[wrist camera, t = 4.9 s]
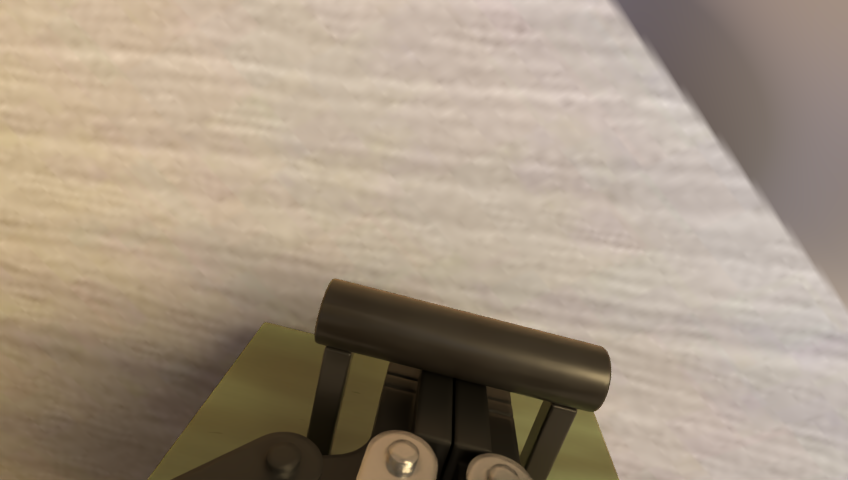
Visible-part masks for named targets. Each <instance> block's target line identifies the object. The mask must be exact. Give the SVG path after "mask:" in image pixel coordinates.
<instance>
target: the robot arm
mask: <svg viewBox="0 0 848 480" xmlns="http://www.w3.org/2000/svg"><path fill="white" fill-rule="evenodd" d="M171 480H533V479H532V477H531V476H530V474H529V473H528V472H527V471H526V470H525V469H524V468H523V467H522V466H521V463H520V456H519V450H518V443H517V436H516V429H515V423H514V418H513V409H512V405H511V396H510V392H508V391H504V390H500V389H496V388H492V387H488V386H484V385H480V384H476V383H472V382H468V381H464V380H460V379H456V378H452V377H448V376H444V375H440V374H436V373H432V372H428V371H424V370H420V369H416V368H412V367H408V366H404V365H400V364H396V363H393V362H389V366H388V370H387V373H386V377H385V381H384V385H383V389H382V392H381V396H380V400H379V404H378V408H377V412H376V416H375V421H374V425H373V429H372V433H371V437H370V439H369V440H368V442H367V443H366V444H365V445H363V446H362V447H361V448H359V449H357V450H355V451H352V452H349V453H345V454H337V455H322V454H321V452H320V450H319V448H318V447H317V446H316V444H315V443H314V442H312V441H311V440H310V439H308V438H307V437H305V436H303V435H300V434H297V433H293V432H274V433H270V434H266V435H264V436H261V437H259V438H257V439H255V440H253V441H251V442H249V443H247V444H245V445H242V446H240V447H238V448H236V449H234V450H232V451H230V452H228V453H226V454H224V455H221V456H219V457H217V458H215V459H213V460H211V461H209V462H207V463H205V464H202V465H200V466H198V467H196V468H194V469H192V470H190V471H188V472H186V473H184V474H181V475H179V476H177V477H175V478H173V479H171Z"/></svg>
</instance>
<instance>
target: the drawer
mask: <svg viewBox="0 0 848 480" xmlns="http://www.w3.org/2000/svg"><path fill="white" fill-rule="evenodd" d="M389 362H393V363H396V364H400V365H404V366H408V367H412V368H416V369H420V370H424V371H428V372H432V373H436V374H440V375H444V376H448V377H452V378H456V379H460V380H464V381H468V382H472V383H476V384H480V385H484V386H488V387H492V388H496V389H500V390H504V391H508V392H510V396H511V405H512V409H513V418H514V423H515V429H516V436H517V443H518V450H519V456H520V463H521V466H522V467H523V468H524V469H525V470H526V471H527V472H528V473H529V474H530V476H531V477H532V479H533V480H619V478H618V475H617V472H616V470H615V467H614V465H613V462H612V459H611V457H610V454H609V451H608V449H607V446H606V443H605V441H604V438H603V435H602V433H601V430H600V428H599V425H598V422H597V420H596V417H595V414H594V411H596V410H598V409H599V408H600V407H601V406H602V404H603V402H604V400H605V398H606V396H607V393H608V390H609V385H610V380H611V362H610V357H609V354H608V352H607V351H606V349H604V348H603V347H602V346H598V345H594V344H591V343H587V342H583V341H579V340H575V339H571V338H567V337H563V336H559V335H555V334H551V333H547V332H543V331H540V330H536V329H532V328H528V327H524V326H520V325H516V324H512V323H508V322H504V321H500V320H496V319H492V318H489V317H485V316H481V315H477V314H473V313H469V312H465V311H461V310H457V309H453V308H449V307H445V306H441V305H438V304H434V303H430V302H426V301H422V300H418V299H414V298H410V297H406V296H402V295H398V294H394V293H391V292H387V291H383V290H379V289H375V288H371V287H367V286H363V285H359V284H355V283H351V282H347V281H343V280H340V279H332V281H331V282H330V283H329V285H328V287H327V289H326V292H325V294H324V297H323V300H322V303H321V306H320V310H319V313H318V317H317V321H316V326H315V333H314V334H311V333H307V332H303V331H299V330H295V329H291V328H287V327H283V326H280V325H276V324H272V323H268V322H264V323H263V325H262V326H261V327H260V329H259V330H258V331H257V333H256V334H255V335H254V337H253V338H252V339H251V341H250V342H249V343H248V345H247V346H246V348H245V349H244V350H243V352H242V353H241V354H240V356H239V357H238V358H237V360H236V361H235V362H234V364H233V365H232V366H231V368H230V369H229V370H228V372H227V373H226V374H225V376H224V377H223V378H222V380H221V381H220V383H219V384H218V385H217V387H216V388H215V389H214V391H213V392H212V393H211V395H210V396H209V397H208V399H207V400H206V401H205V403H204V404H203V405H202V407H201V408H200V409H199V411H198V412H197V413H196V415H195V416H194V417H193V419H192V420H191V422H190V423H189V424H188V426H187V427H186V428H185V430H184V431H183V432H182V434H181V435H180V436H179V438H178V439H177V440H176V442H175V443H174V444H173V446H172V447H171V448H170V450H169V451H168V452H167V454H166V455H165V457H164V458H163V459H162V461H161V462H160V463H159V465H158V466H157V467H156V469H155V470H154V471H153V473H152V474H151V475H150V477H149V478H148V479H147V480H171V479H173V478H175V477H177V476H179V475H181V474H184V473H186V472H188V471H190V470H192V469H194V468H196V467H198V466H200V465H202V464H205V463H207V462H209V461H211V460H213V459H215V458H217V457H219V456H221V455H224V454H226V453H228V452H230V451H232V450H234V449H236V448H238V447H240V446H242V445H245V444H247V443H249V442H251V441H253V440H255V439H257V438H259V437H261V436H264V435H266V434H270V433H274V432H293V433H297V434H300V435H303V436H305V437H307V438H308V439H310V440H311V441H312V442H314V443H315V444H316V446H317V447H318V448H319V450H320V452H321V454H322V455H337V454H345V453H349V452H352V451H355V450H357V449H359V448H361V447H362V446H363V445H365V444H366V443H367V442H368V440H369V439H370V437H371V433H372V429H373V425H374V421H375V416H376V412H377V408H378V404H379V400H380V396H381V392H382V389H383V385H384V381H385V377H386V373H387V370H388V366H389Z"/></svg>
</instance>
